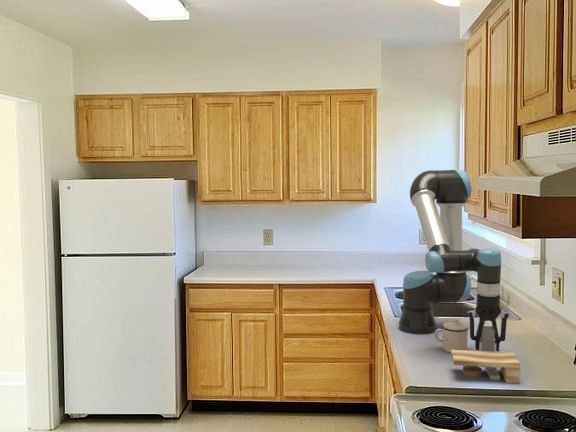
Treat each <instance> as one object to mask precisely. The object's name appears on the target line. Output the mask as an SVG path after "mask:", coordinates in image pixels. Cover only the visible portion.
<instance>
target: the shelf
mask: <svg viewBox="0 0 576 432" xmlns="http://www.w3.org/2000/svg"><path fill="white" fill-rule="evenodd" d="M450 356H451V360H452V362H453V365H454V366H463V367H464V366H478V367H484V368H485V367H496V368H499V371H500V373H501V375H502V377H503V379H504V381H505V383H506V384H509V383H511V384H520V377H521V376H520V374H521V373H520V372H521V370H520V368H521V363H520V361H519V359H518V358H517V356H516V354H515V353H514V351H496V352H495V351H476V350H471V349H470V350H468V349H467V350H451V352H450Z"/></svg>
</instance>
